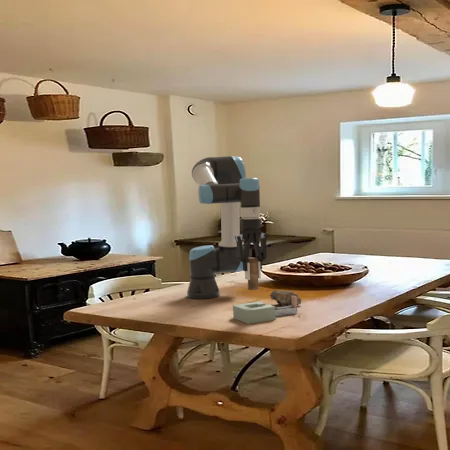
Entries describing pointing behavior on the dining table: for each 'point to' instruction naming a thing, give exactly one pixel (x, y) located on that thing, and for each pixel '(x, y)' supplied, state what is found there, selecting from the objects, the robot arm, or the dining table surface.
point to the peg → (253, 274)
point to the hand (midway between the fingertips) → (252, 278)
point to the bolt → (294, 304)
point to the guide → (285, 312)
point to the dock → (254, 312)
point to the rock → (284, 297)
